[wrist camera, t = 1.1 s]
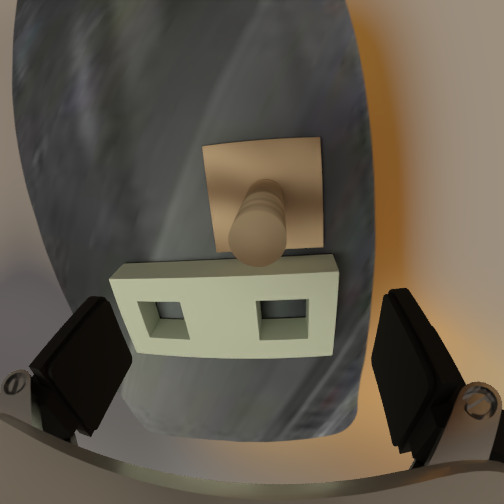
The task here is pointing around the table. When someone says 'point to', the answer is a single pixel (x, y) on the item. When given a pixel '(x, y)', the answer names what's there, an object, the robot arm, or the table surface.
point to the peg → (260, 225)
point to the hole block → (229, 307)
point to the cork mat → (273, 168)
